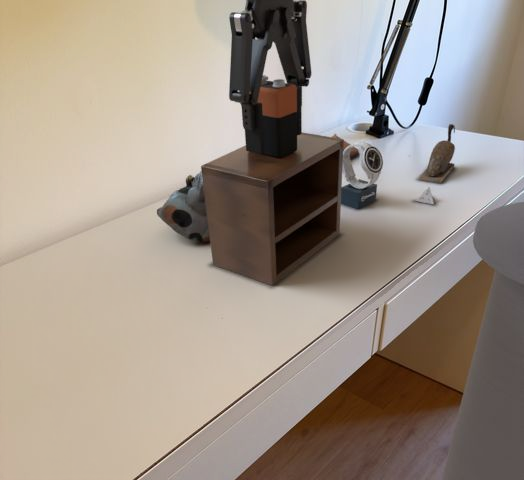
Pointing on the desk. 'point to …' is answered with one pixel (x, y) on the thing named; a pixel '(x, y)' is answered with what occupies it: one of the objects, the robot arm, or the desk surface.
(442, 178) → the figurine
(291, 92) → the battery
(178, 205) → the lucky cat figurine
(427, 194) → the tetrahedral die
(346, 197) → the watch
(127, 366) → the desk surface
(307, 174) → the shelf
